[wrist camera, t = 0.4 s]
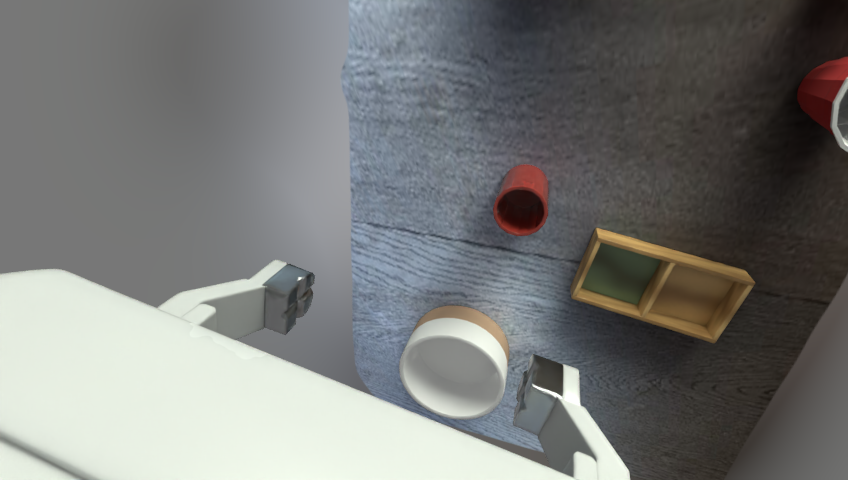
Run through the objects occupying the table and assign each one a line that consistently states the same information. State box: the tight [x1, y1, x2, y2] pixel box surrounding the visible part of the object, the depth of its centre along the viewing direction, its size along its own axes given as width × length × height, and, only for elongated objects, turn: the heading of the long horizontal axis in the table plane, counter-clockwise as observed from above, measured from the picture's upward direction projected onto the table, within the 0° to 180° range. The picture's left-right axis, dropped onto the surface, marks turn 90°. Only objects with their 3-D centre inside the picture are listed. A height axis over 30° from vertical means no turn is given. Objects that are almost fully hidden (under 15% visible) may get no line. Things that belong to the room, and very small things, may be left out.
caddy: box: [570, 228, 755, 343], centre depth 59 cm, size 10×20×4 cm, turn 79°
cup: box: [493, 165, 549, 236], centre depth 56 cm, size 6×6×10 cm
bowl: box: [399, 305, 509, 420], centre depth 71 cm, size 17×17×8 cm
